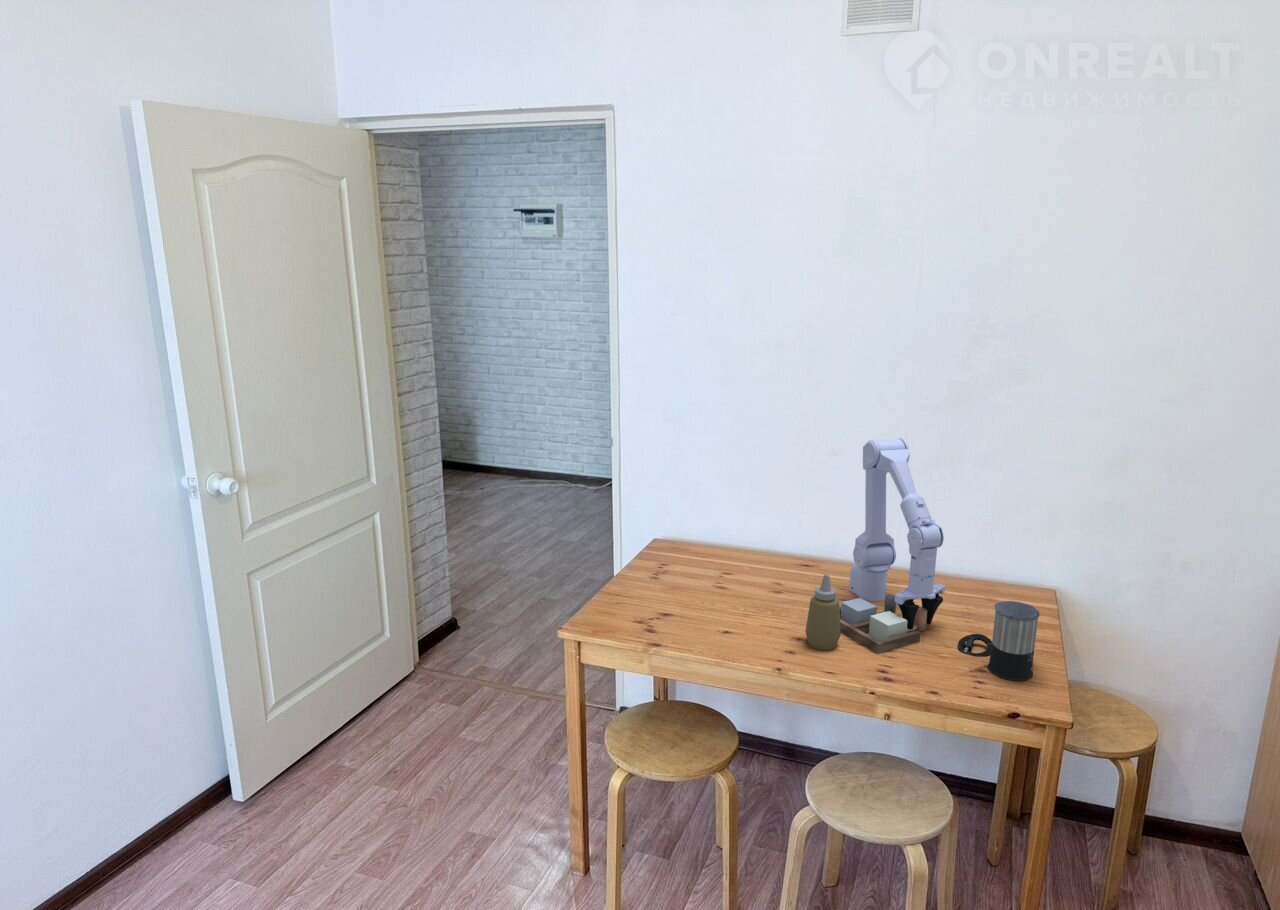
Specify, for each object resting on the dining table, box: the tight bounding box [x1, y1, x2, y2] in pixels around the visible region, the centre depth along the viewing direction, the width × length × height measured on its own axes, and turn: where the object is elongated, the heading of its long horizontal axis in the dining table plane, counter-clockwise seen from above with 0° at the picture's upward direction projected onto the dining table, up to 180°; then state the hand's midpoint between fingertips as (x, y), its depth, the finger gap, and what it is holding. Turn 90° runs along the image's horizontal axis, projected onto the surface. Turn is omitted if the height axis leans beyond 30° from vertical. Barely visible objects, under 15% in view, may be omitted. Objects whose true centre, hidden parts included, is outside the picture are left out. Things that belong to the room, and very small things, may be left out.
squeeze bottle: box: [804, 574, 841, 651], centre depth 190 cm, size 8×8×18 cm
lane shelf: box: [839, 606, 921, 655], centre depth 201 cm, size 20×28×3 cm
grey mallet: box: [840, 593, 897, 625], centre depth 204 cm, size 6×15×5 cm, turn 117°
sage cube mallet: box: [868, 606, 927, 641], centre depth 196 cm, size 6×15×5 cm, turn 117°
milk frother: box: [957, 600, 1041, 682], centre depth 183 cm, size 14×16×15 cm
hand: (917, 625), depth 199 cm, fingers open, 5 cm apart
